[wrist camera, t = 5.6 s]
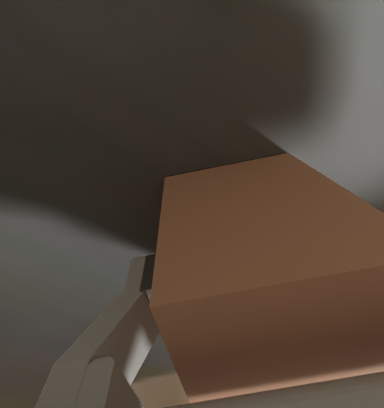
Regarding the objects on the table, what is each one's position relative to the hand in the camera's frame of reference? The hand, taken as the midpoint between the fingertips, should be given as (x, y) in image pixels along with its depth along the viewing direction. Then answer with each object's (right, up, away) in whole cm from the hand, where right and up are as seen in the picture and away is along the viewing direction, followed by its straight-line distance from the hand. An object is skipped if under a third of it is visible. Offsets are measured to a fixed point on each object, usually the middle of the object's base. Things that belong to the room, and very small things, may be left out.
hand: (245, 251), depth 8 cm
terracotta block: (0, +1, +2) cm, 2 cm away
